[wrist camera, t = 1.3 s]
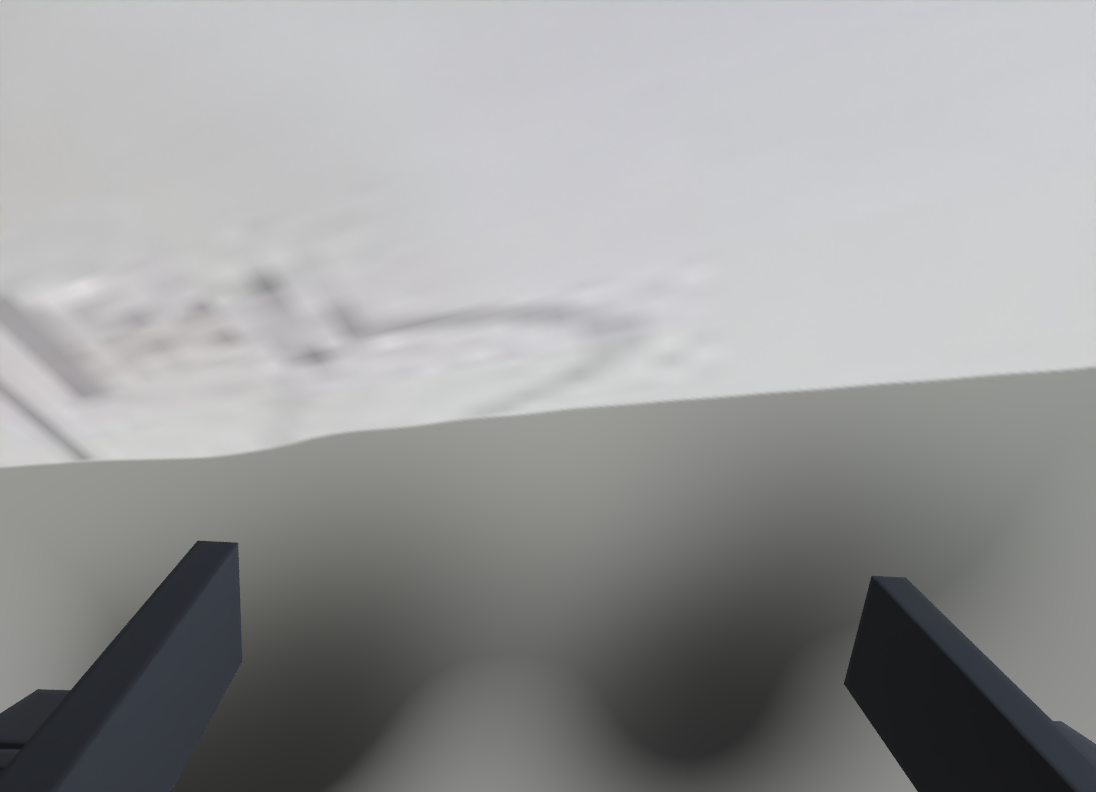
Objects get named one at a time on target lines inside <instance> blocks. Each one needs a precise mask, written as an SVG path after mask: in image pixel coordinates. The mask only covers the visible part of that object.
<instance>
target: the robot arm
mask: <svg viewBox="0 0 1096 792" xmlns="http://www.w3.org/2000/svg"><path fill="white" fill-rule="evenodd" d="M241 662H242V645H241V616H240V586H239V557H238V543H231V542H211V541H197V542H196V544H195V545H194V546H193V547H192V548H191V549H190V550H189V552H188V553H187V554H186V555H185V556H184V557H183V559H182V560H181V561H180V562H179V563H178V565H177V566H176V567H175V568H174V569H173V570H172V572H171V573H170V574H169V575H168V576H167V578H166V579H165V580H164V581H163V582H162V583H161V585H160V586H159V587H158V588H157V589H156V590H155V592H154V593H153V594H152V595H151V596H150V598H149V599H148V600H147V601H146V602H145V603H144V605H143V606H142V607H141V608H140V610H139V611H138V612H137V613H136V614H135V615H134V616H133V618H132V619H131V620H130V621H129V622H128V623H127V625H126V626H125V627H124V628H123V629H122V631H121V632H120V633H119V634H118V635H117V636H116V638H115V639H114V640H113V641H112V642H111V644H110V645H109V646H108V647H107V648H106V649H105V651H104V652H103V653H102V654H101V655H100V656H99V658H98V659H97V660H96V661H95V662H94V664H93V665H92V666H91V667H90V668H89V669H88V671H87V672H86V673H85V674H84V675H83V676H82V678H81V679H80V680H79V681H78V682H77V684H76V685H75V686H74V687H73V688H72V690H41V689H38V690H36V691H35V692H33V693H32V694H30V695H28V696H27V697H25V698H24V699H22V700H21V701H19V702H17V703H16V704H15V705H13V706H11V707H10V708H8V709H7V710H5V711H3V712H2V713H1V714H0V792H171V791H172V790H173V788H174V786H175V784H176V782H177V780H178V778H179V776H180V775H181V773H182V771H183V769H184V767H185V765H186V764H187V762H188V760H189V758H190V756H191V754H192V753H193V751H194V749H195V747H196V745H197V743H198V742H199V740H200V738H201V736H202V734H203V732H204V730H205V728H206V727H207V725H208V723H209V721H210V719H211V718H212V715H213V714H214V712H215V710H216V708H217V707H218V705H219V703H220V701H221V699H222V697H223V695H224V694H225V692H226V690H227V688H228V686H229V684H230V682H231V681H232V679H233V677H234V675H235V673H236V671H237V670H238V668H239V666H240V664H241ZM844 685H845V686H846V687H847V689H848V690H849V692H850V693H851V695H852V696H853V698H854V699H855V701H856V702H857V704H858V705H859V706H860V708H861V709H862V711H863V712H864V714H865V715H866V716H867V718H868V720H869V721H870V722H871V724H872V725H873V727H874V728H875V729H876V731H877V733H878V734H879V736H880V737H881V739H882V740H883V741H884V743H885V744H886V746H887V747H888V749H889V750H890V752H891V753H892V755H893V756H894V757H895V759H896V760H897V762H898V763H899V765H900V766H901V768H902V769H903V771H904V772H905V774H906V775H907V777H908V778H909V779H910V781H911V782H912V784H913V785H914V787H915V788H916V790H917V791H918V792H1096V744H1095V743H1093V742H1092V741H1090V740H1089V739H1087V738H1086V737H1084V736H1083V735H1081V734H1079V733H1078V732H1077V731H1075V730H1074V729H1072V728H1071V727H1069V726H1068V725H1066V724H1064V723H1063V722H1061V721H1052V720H1051V719H1050V718H1049V717H1048V716H1047V715H1046V714H1045V713H1044V712H1043V711H1042V710H1041V709H1040V708H1039V707H1038V706H1037V705H1036V704H1035V703H1034V702H1032V700H1030V698H1029V697H1027V696H1026V695H1025V694H1024V693H1023V692H1022V691H1021V690H1020V689H1019V688H1018V687H1017V686H1016V685H1015V684H1014V683H1013V682H1012V681H1011V680H1010V679H1009V678H1008V677H1007V676H1006V675H1005V674H1004V673H1003V672H1002V671H1001V670H1000V669H999V668H998V667H997V666H996V665H995V664H994V663H993V662H992V661H991V660H989V659H988V657H986V655H984V654H983V653H982V652H981V651H980V650H979V649H978V648H977V647H976V646H975V645H974V644H973V643H972V642H971V641H970V640H969V639H968V638H967V637H966V636H965V635H964V634H963V633H962V632H961V631H960V630H959V629H958V628H957V627H956V626H955V625H954V624H953V623H952V622H951V621H950V620H949V619H948V618H947V617H946V616H944V615H943V614H942V613H941V612H940V611H939V610H938V609H937V608H936V607H935V606H934V605H933V604H932V603H931V602H930V601H929V600H928V599H927V598H926V597H925V596H924V595H923V594H922V593H921V592H920V591H919V590H918V589H917V588H916V587H915V586H914V585H912V583H911V582H909V580H908V579H907V578H902V577H883V576H872V577H871V581H870V584H869V588H868V592H867V597H866V600H865V604H864V608H863V612H862V616H861V620H860V624H859V628H858V631H857V635H856V639H855V643H854V647H853V651H852V655H851V658H850V662H849V667H848V670H847V674H846V678H845V682H844Z"/></svg>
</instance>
